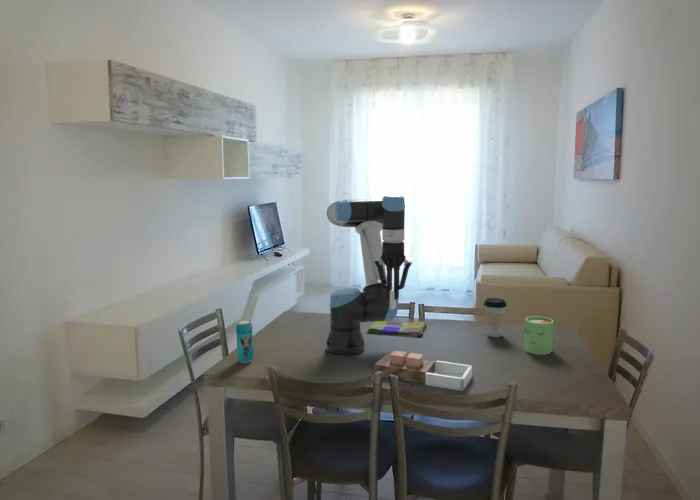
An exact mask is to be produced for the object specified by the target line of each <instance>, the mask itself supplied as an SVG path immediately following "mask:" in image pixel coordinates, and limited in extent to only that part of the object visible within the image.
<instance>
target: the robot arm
mask: <svg viewBox="0 0 700 500" xmlns="http://www.w3.org/2000/svg"><path fill="white" fill-rule="evenodd" d="M405 204H406V203H405V197H404V196H403V195H399V194H398V195H393V194H392V195H384V196H383V197H382V198H381V199H380V198H379V199H376V198H375V199H374V198H367V199H340V200H337V201H335V202H332V203H331V204H330V205H329V206H328V208H327V210H326V217H327V219H328V221H329V222H330V223H332V224H333V225H334V226H338V227H342V228H355V229H354V230H355V232H356V233H357V234H358V235H359V240H360V248H361V254H362V255H361V256H362V262H363V271H364V279H365V286H364V287H363V288H362V291H360V289H359V288H356V287H347V288H342V289H338V290H336V291H333V292H332V293H331V295H330V297H329V312H330V313H329V316H330V317H329V319H330V321H329V322H330V323H329V324H330V325H329V328H330V329H329V332H328V336H327V338H326V339H327V340H326V343H325V350H326V351H327V352H328V353H330V354H334V355H340V356H341V355H342V356H348V355H356V354H359V353H362V352H363V351H364V350H365V348H366V347H365V346H366V345H365V344H366V343H365V340H364V337H363V334H362V331H361V323H374V322H376V321H393V320H395V319H396V317H397V314H398V311H399V297H400V294H399V293H400V292H399V291H400V290H402V289H404V288H405V285H406V281H407V277H408V274H409V273H408V272H409V270H410V267H411V266H412V265H413V262H412V261H410V260H408V259H406V258H407V257H406V256H405V242H404V241H405V208H406V205H405ZM381 231H382V232H381ZM381 233H382V236H381ZM402 265H403V266H404V267H403V270H402V274H401V278H400V269H401V268H400V267H402Z"/></svg>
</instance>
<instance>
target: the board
mask: <svg viewBox="0 0 700 500" xmlns="http://www.w3.org/2000/svg"><path fill="white" fill-rule="evenodd" d="M377 371H382V372H383V377H382V378H387V379H390V378H389V375H390V374H393V375H396V376H398V378H399V379H400V381H406V382H413V383H418V384H423V385H425V377H426V372H427V373H435V371H436V361H435V360H431V359H430V360H427V359H423V364H422V365H421V366H420V367H413V366H406V362H405V363H404V364H403V365H399V364H393V363H390V354H387V353H386V354H385V355H384V356H383V357H382V358H381V359H379V360H378V361H377V362H375V364H374V373H375V372H377ZM399 379H398V380H399Z"/></svg>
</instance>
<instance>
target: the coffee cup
mask: <svg viewBox="0 0 700 500" xmlns="http://www.w3.org/2000/svg"><path fill="white" fill-rule="evenodd" d="M483 306H484V309H485V311H484V316H485V317H484V318H485V326H486V335H487V336H488V337H492V338H499V337H502V335H503V328H504V323H505V316H506V307H507V306H508V305H507V302H506V300H505V299H503V298H498V297H490V298H485V300H484V302H483Z"/></svg>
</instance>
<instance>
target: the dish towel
mask: <svg viewBox="0 0 700 500" xmlns="http://www.w3.org/2000/svg"><path fill="white" fill-rule="evenodd" d="M426 328H427V323H426V322H424V321H423V322H421V321H420V322H401V321H393V320H389V321H376V322H372V324H371V325H370V327H368V328H367V330H366V331H365V333H370V334H376V335H386V336H395V337H396V336H397V337H407V338H408V337H409V338H413V337H415V338H418V337H419V336H421V335H422V334H423V331H424V330H425V329H426Z"/></svg>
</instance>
